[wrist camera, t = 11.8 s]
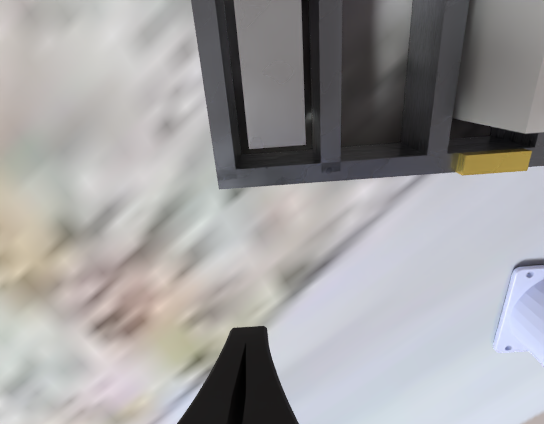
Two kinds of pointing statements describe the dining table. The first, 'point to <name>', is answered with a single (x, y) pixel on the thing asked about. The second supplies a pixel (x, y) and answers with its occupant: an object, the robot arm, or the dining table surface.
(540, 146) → the rack
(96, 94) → the dining table surface
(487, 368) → the dining table surface
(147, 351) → the dining table surface
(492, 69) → the block
